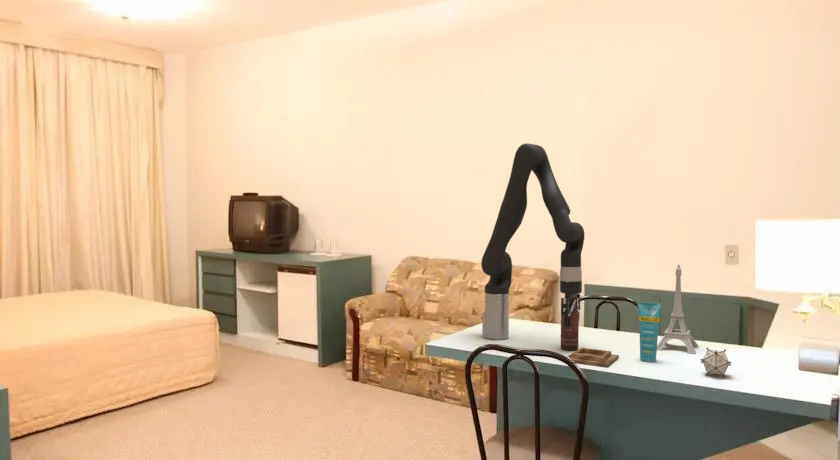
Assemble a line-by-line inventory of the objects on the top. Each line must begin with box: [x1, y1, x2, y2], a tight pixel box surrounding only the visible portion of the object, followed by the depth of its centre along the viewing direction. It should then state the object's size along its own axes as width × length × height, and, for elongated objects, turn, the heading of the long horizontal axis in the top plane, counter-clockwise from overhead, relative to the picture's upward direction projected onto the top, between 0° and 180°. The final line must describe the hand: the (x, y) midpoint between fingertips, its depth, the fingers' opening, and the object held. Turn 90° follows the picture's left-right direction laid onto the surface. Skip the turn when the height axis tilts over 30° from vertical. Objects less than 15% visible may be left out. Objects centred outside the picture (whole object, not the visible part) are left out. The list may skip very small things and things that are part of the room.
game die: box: [700, 347, 732, 378], centre depth 190 cm, size 9×8×10 cm
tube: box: [636, 301, 662, 363], centre depth 208 cm, size 7×5×19 cm, turn 73°
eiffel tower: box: [657, 264, 700, 355], centre depth 225 cm, size 13×13×30 cm
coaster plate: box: [567, 347, 620, 369], centre depth 209 cm, size 14×14×2 cm
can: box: [560, 309, 581, 352], centre depth 223 cm, size 6×6×14 cm
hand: (570, 325), depth 223 cm, fingers open, 8 cm apart
